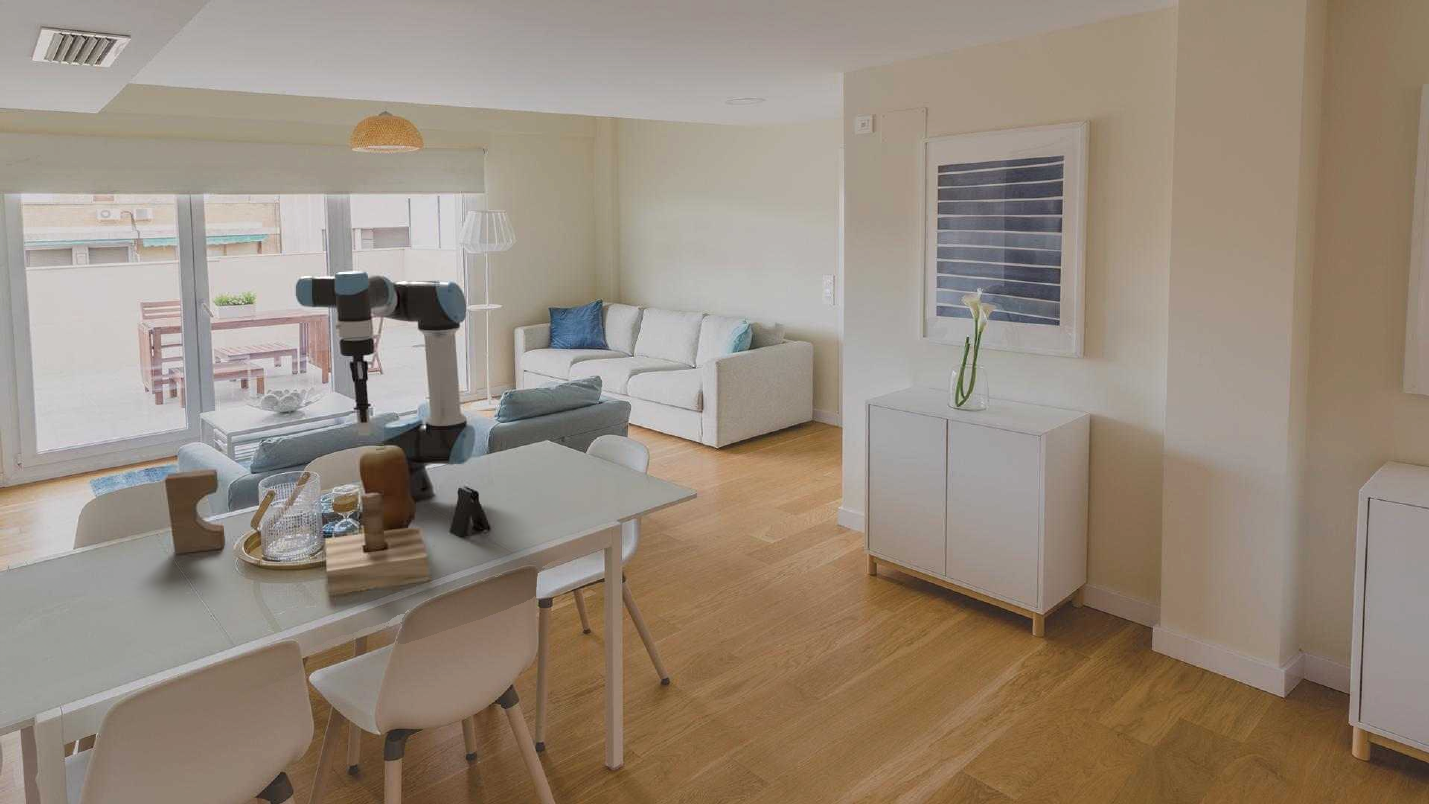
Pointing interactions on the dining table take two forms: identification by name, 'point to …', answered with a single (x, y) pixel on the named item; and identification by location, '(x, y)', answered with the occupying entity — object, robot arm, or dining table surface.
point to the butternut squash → (389, 484)
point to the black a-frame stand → (468, 514)
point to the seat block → (376, 561)
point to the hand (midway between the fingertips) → (364, 434)
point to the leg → (373, 522)
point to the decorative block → (192, 511)
